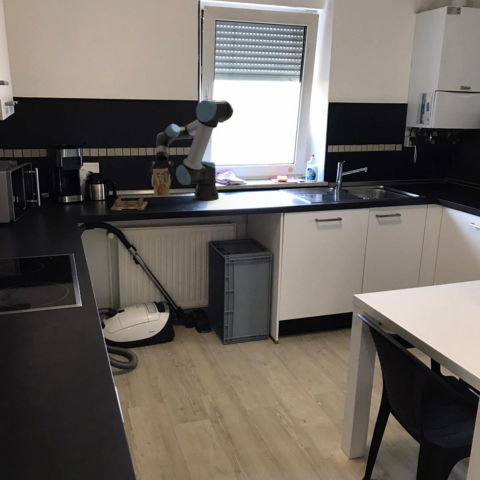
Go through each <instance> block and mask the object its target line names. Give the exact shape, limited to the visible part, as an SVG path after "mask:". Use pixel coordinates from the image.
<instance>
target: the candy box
mask: <svg viewBox="0 0 480 480" xmlns="http://www.w3.org/2000/svg"><path fill="white" fill-rule="evenodd" d="M152 171H153V182H154V186H153V195H154V196H155V197H156V196H169V195H170V186H169V173H168V169H165V168H159V169H154V168H152Z"/></svg>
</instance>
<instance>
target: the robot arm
mask: <svg viewBox="0 0 480 480" xmlns="http://www.w3.org/2000/svg"><path fill="white" fill-rule="evenodd" d="M195 113H196V118H197V119H196V120H194V121H192V122H190V123H188V124H187V125H185V126H184V125H183V126H178V125H177V124H174V123H171V124H170V125H168V126H167V127H166V128H165V130H163V132H159V133H157V135H156V140H155V141H156V144H155V146H156V147H155V161H152V160H150V162H149V163H150V164H149V167H148V169H147V177H149V178H150V179H149V180H150V182H151V186H152V187H154V182H153V169H168V177H169V187H171V182H172V181H173V176H174V177H175V176H176V179H177V181H178V182H179V183H180V184H181V185H183V186H186V185H187V186H189V185H193V184H196V188H195V192H194V195H193V198H194V200H197V201H214V200H218V199H219V196H220V195H219V192H218V189H217V186H216V184H217V183H216V181H217V180H216V177H217V176H216V175H217V174H216V173H217V172H216V170H217V168H216V164H215V162H214V161H207V160H206V161H205V160H203V159H204V156H205V153H206V150H207V148H208V145H209V143H210V139H211V136H212V133H213V131H214V129H215V128H218V124H219V123H225V122H226V121H228V120H230V119H231V118H232V117H233V115H234V106H233V105H232V103H231V102H230V101H229V100H226V99H223V98H222V99H212V98H210V99H209V98H208V99H203V100H201V101H200V102H199V103H198V104H197V106H196V108H195ZM189 139H193V140H192V143H191V145H190V149H189V151H188V154H187V158H184V159H183V161H182V164H180V165H179V166H177V167H176V169H175V167H174V160H170V161H169V148H170V147H169V146H170V144H171V143H173V142H174V141H175V140H189ZM169 165H170V167H171V169H170V168H169ZM153 167H154V168H153Z"/></svg>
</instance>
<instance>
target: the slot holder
mask: <svg viewBox="0 0 480 480" xmlns="http://www.w3.org/2000/svg"><path fill="white" fill-rule="evenodd" d="M146 206H148V201H144V197H140V198H139V199H138V200H122V198H121V197H118V198H117V199H116V200H115V201H114V204H113V205H112V206H111V207H110V211H123V210H122V209H137V210H136V211H143V210H144V209H146Z"/></svg>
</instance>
